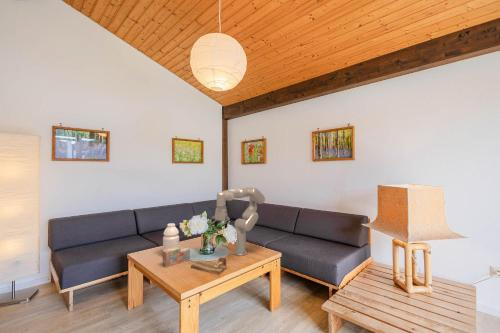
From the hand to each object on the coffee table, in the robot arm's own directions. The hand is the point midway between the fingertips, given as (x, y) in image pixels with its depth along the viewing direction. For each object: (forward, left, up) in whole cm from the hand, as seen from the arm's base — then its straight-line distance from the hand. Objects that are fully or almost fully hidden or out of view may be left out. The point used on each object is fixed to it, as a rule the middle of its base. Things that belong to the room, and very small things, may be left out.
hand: (220, 227), depth 199 cm
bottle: (+9, -46, -28) cm, 55 cm away
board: (+17, 0, -28) cm, 33 cm away
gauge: (+13, +7, -28) cm, 32 cm away
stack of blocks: (+20, -30, -29) cm, 46 cm away
